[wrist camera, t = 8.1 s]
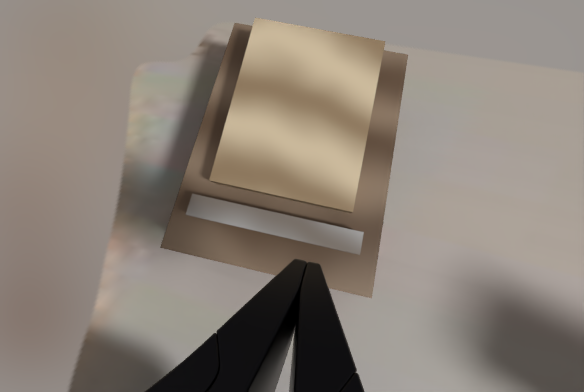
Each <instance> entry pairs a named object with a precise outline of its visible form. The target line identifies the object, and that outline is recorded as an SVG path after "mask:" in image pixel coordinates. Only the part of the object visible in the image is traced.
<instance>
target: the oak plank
mask: <svg viewBox="0 0 584 392" xmlns="http://www.w3.org/2000/svg"><path fill="white" fill-rule="evenodd" d="M384 46H385V41H380V40H375V39H369V38H364V37H358V36H353V35H347V34H342V33H336V32H331V31H325V30H320V29H314V28H308V27H303V26H298V25H292V24H287V23H282V22H275V21H270V20H265V19H260V18H255V20H254V23H253V27H252V30H251V34H250V37H249V41H248V45H247V48H246V52H245V55H244V59H243V62H242V66H241V69H240V73H239V76H238V80H237V83H236V87H235V91H234V94H233V98H232V101H231V105H230V108H229V112H228V115H227V119H226V122H225V126H224V130H223V133H222V137H221V140H220V144H219V147H218V151H217V154H216V158H215V161H214V165H213V168H212V172H211V176H210V179H209V180H210V181H211V182H213V183H215V184H219V185H223V186H228V187H232V188H237V189H241V190H246V191H250V192H255V193H259V194H264V195H268V196H273V197H277V198H282V199H286V200H291V201H295V202H300V203H304V204H309V205H313V206H318V207H322V208H327V209H331V210H336V211H340V212H345V213H352V212H353V209H354V204H355V199H356V193H357V188H358V183H359V178H360V172H361V167H362V162H363V156H364V151H365V146H366V141H367V135H368V130H369V125H370V120H371V114H372V109H373V104H374V98H375V93H376V88H377V83H378V77H379V72H380V67H381V61H382V56H383V51H384Z"/></svg>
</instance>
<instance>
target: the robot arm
mask: <svg viewBox="0 0 584 392" xmlns="http://www.w3.org/2000/svg"><path fill="white" fill-rule="evenodd" d="M294 330H295V333H294ZM293 334H294V342H293V353H292V364H291V376H290V387H289V392H364V389H363V386H362V383H361V380H360V377H359V375H358V373H356V371H357V369H356V366H355V363H354V361H353V358H352V355H351V352H350V349H349V346H348V343H347V340H346V337H345V334H344V332H343V329H342V326H341V323H340V320H339V317H338V314H337V311H336V308H335V305H334V303H333V300H332V297H331V294H330V291H329V288H328V285H327V282H326V279H325V276H324V274H323V271H322V268H321V265H320V264H319V263H315V262H310V261H309V262H306V261H305V260H300V259H294V260H293V261H291V262H290V263H289V264H288V265H287V266H286V267H285V268H284V269H283V270H282V271H281V272H280V273H279V274H277V275H276V276H275V277H274V278H273V279H272V280H271V281H270V282H269V283H268V284H267V285H266V286H265V287H264V288H262V289H261V290H260V291H259V292H258V293H257V294H256V295H255V296H254V297H253V298H252V299H251V300H250V301H248V302H247V303H246V304H245V305H244V306H243V307H242V308H241V309H240V310H239V311H238V312H237V313H236V314H235V315H233V316H232V317H231V318H230V319H229V320H228V321H227V322H226V323H225V324H224V325H223V326H222V327H221V328H219V329H218V330H217V334H216V333H214V334H213V335H212V336H211V337H210V338H209V339H207V340H206V341H205V342H204V343H203V344H202V345H201V346H200V347H199V348H198V349H196V350H195V351H194V352H193V353H192V354H191V355H190V356H189V357H187V358H186V359H185V360H184V361H183V362H182V363H180V364H179V365H178V366H177V367H175V368H174V369H173V370H172V371H170V372H169V373H168V374H167V375H166V376H164V377H163V378H162V379H161V380H159V381H158V382H157V383H155V384H154V385H153V386H152V387H150V388H149V389H148V390H146V391H145V392H275V389H276V386H277V383H278V380H279V377H280V374H281V371H282V368H283V365H284V362H285V359H286V356H287V353H288V350H289V347H290V344H291V341H292V337H293Z"/></svg>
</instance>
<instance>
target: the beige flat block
mask: <svg viewBox="0 0 584 392" xmlns="http://www.w3.org/2000/svg"><path fill="white" fill-rule="evenodd" d="M252 27H253V26H249V25H244V24H238V23H235V24H234V27H233V30H232V33H231V36H230V39H229V42H228V45H227V48H226V51H225V54H224V57H223V60H222V63H221V66H220V69H219V72H218V75H217V78H216V81H215V84H214V87H213V90H212V93H211V96H210V99H209V102H208V105H207V108H206V111H205V114H204V117H203V120H202V123H201V126H200V129H199V132H198V135H197V138H196V141H195V144H194V147H193V150H192V153H191V156H190V159H189V162H188V165H187V169H186V172H185V175H184V178H183V181H182V184H181V187H180V190H179V193H178V196H177V199H176V202H175V205H174V208H173V211H172V214H171V217H170V220H169V223H168V226H167V229H166V232H165V235H164V238H163V241H162V244H161V247H160V248H164V249H169V250H173V251H177V252H181V253H185V254H189V255H194V256H198V257H202V258H206V259H210V260H214V261H219V262H223V263H227V264H231V265H235V266H239V267H244V268H248V269H252V270H256V271H260V272H264V273H269V274H273V275H277V274H279V273H280V272H281V271H282V270H283V269H284V268H285V267H286V266H287V265H288V264H289V263H290V262H291V261H293V260H294V259H300V260H305V261H306V262H309V261H310V262H315V263H319V264H320V265H321V268H322V271H323V274H324V276H325V279H326V282H327V285H328V288H331V289H335V290H339V291H344V292H348V293H352V294H356V295H360V296H364V297H369V298H372V292H373V286H374V279H375V272H376V266H377V259H378V252H379V245H380V239H381V232H382V225H383V219H384V212H385V205H386V199H387V192H388V185H389V179H390V172H391V165H392V158H393V152H394V145H395V138H396V132H397V125H398V118H399V112H400V105H401V98H402V92H403V85H404V78H405V71H406V65H407V58H408V55H406V54H400V53H395V52H390V51H383V56H382V61H381V67H380V72H379V77H378V83H377V88H376V93H375V98H374V104H373V109H372V114H371V120H370V125H369V130H368V135H367V141H366V146H365V151H364V156H363V162H362V167H361V172H360V178H359V183H358V188H357V193H356V199H355V204H354V209H353V212H352V213H345V212H340V211H336V210H331V209H327V208H322V207H318V206H313V205H309V204H304V203H300V202H295V201H291V200H286V199H282V198H277V197H273V196H268V195H264V194H259V193H255V192H250V191H246V190H241V189H237V188H232V187H228V186H223V185H219V184H215V183H213V182H211V181H210V180H209V179H210V176H211V172H212V168H213V165H214V161H215V158H216V154H217V151H218V147H219V144H220V140H221V137H222V133H223V130H224V126H225V122H226V119H227V115H228V112H229V108H230V105H231V101H232V98H233V94H234V91H235V87H236V83H237V80H238V76H239V73H240V69H241V66H242V62H243V59H244V55H245V52H246V48H247V45H248V41H249V37H250V34H251V30H252Z"/></svg>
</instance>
